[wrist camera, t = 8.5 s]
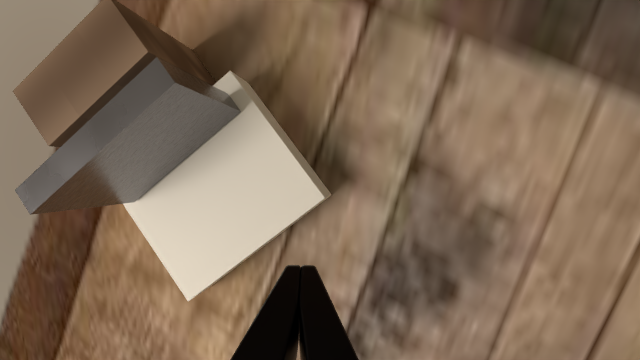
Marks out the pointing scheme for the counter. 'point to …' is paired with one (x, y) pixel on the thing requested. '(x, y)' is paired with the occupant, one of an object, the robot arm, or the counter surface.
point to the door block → (227, 195)
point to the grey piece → (130, 142)
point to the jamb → (97, 69)
